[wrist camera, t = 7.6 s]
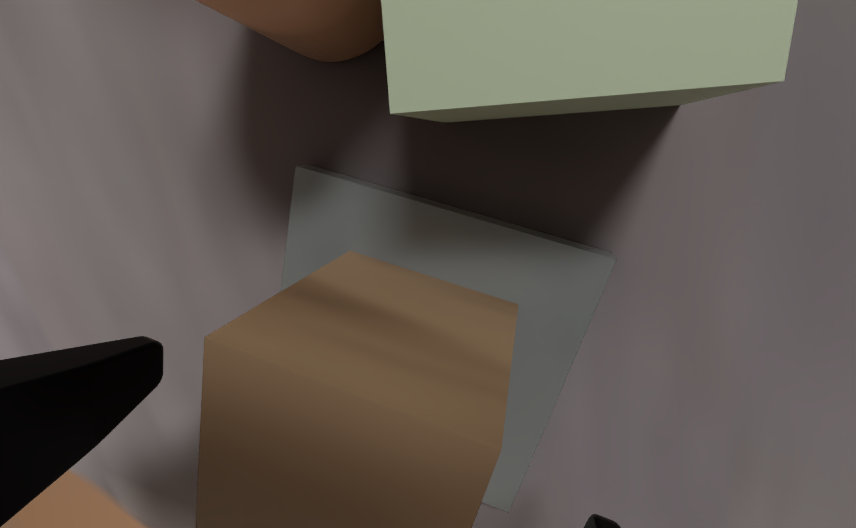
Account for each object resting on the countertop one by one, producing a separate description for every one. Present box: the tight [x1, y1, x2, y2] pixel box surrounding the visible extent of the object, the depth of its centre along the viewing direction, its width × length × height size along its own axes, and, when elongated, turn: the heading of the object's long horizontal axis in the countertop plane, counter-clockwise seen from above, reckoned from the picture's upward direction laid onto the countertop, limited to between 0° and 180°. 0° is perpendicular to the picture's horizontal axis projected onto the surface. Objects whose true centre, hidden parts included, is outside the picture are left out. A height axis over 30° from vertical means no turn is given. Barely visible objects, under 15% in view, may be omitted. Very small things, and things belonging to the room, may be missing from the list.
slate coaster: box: [280, 164, 616, 513], centre depth 11 cm, size 8×8×1 cm
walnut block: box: [196, 251, 518, 528], centre depth 9 cm, size 4×4×5 cm
